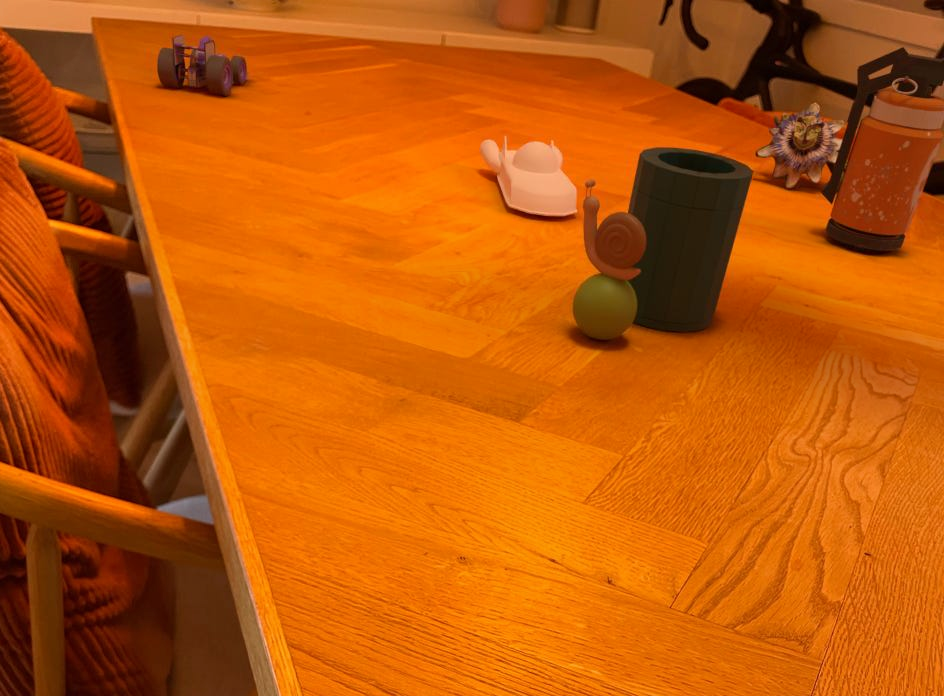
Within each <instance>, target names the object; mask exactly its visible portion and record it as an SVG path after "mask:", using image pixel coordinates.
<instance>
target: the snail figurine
mask: <svg viewBox="0 0 944 696" xmlns="http://www.w3.org/2000/svg"><path fill="white" fill-rule="evenodd" d="M596 185H597V184H596V180H595V179H590V180H586V182H585V183H584V186H585V188H586V191H585V198H584V199H583V203H582V210H583V222H582V223H583V225H582V228H583V230H582V231H583V244H584V250H585V254H586V257H587V259H588V260H589V262H590V263H591V265H592V266H593V267H594V268H595V269H596V270H597V271H598V272H599V273H595V274H593V275H591V276H589V277H588V278H586V279H585V280H584V281H583V282H582V283H581V284H580V285H579V287H578V288H577V290H576V291H575V294H574V297H573V301H572V314H573V319H574V322H575V323H576V325H577V327H578V329H579V330H581V332H582V333H583V334H585V335H586V336H588V337H589V338H592V339H594V340H598V341H609V340H613V339H615V338H618V337H621V335H623V334H624V333H625V332H627V330H628V329H630V327H631V326H632V324H633V321H634V319H635V316H636V312H637V297H636V294H635V291H634V289H633V287H632V286H631V284H630V283H629V282H628V281H627V280H630V279H632V278H634V277H636V276H637V275H638V274H640V272H641V270H640V269H638V268H632V267H631V266H633V265H634V264H636V263H637V262H638V261H639V260H640V259H641V258H642V256H643V254H644V252H645V248H646V233H645V230H644V227H643V225H642V224H641V222H640V221H639V220H638V219H637V218H636V217H635V216H633V215H631V214H629V213H628V212H626V211H617V212H614V213H611V214H609V215H608V216H606V217H605V218H604V219H603V220H602V221H601V223H600V224H599V226H598V213H599V210H600V206H601V204H600V200H599V198H598V197H596V196H595V195H592V189H593V188H594V187H595V186H596ZM589 188H590V189H589ZM588 189H589V195H588ZM587 195H588V196H587Z"/></svg>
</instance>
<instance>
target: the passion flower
mask: <svg viewBox="0 0 944 696" xmlns="http://www.w3.org/2000/svg"><path fill="white" fill-rule="evenodd" d="M820 109H821V107H820V106H819V104H818V103H817V102H813V103H812V104H810V105H809V107H808V108H807V109H803V110H802V111H800V110H798V112H797V113H796V114H795V112H792V113H791V114H790V115H789V114H788V113H785V112H784V113H781V117H780V119H778V116H777V115H776V114H775V115H774V117H773V122H774V125H775V127H774V128H773V127H772V128H769V129H768V132H769V134H770V135H771V136H772V138H771V141H770V142H769V143H768V144H765V145H764V146H762V147H759V148H758V149H757V150H756V151H755V153H754V155H755V156H756V158H761V159H765V158H766V159H767V158H770V157H771V158H773V160H774V167H773V170H772V179H773V180H778V179H784V181H785V183H784V185H785V189H787V190H791V189H793V188H794V187H795V186H796V184H797V183H798V182H799V180H800V178H801V177H802V176H803V175H805V176H807V177H808V179H809V180H810V182H812V183H813V184H816V185H817V184H818V183H819V182H820V180H821V178H822V176H823V175H822V174H823V169H824V168H825V166H827V168H828V170H829V173H830V175H831V174H832V171H833V168H834V165H835V162H836V159H837V156H838V152H839V149H840V146H841V143H842V140H843V138H839V137H836V135H837V134H838V132H839V131H840V130H841V129H842V128H843V127H844V124H845V122H844V120H843V119H838V120H831V121H828V122H827V120H825V117H823V118H821V119H820V115H821V114H822V112H821V111H820ZM823 120H825V121H823ZM847 162H848V160H847V161H846V164H845V167H844V170H843V173H842V176H841V179H840V182H839V185H838V188H837V191H836V192H838V190H839V187H840V184H841V181H842V178H843V175H844V172H845V168H846V165H847Z"/></svg>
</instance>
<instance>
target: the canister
mask: <svg viewBox="0 0 944 696" xmlns="http://www.w3.org/2000/svg"><path fill="white" fill-rule="evenodd" d="M890 66H892V67H891V69H890V72H889V73H886V74H883V75H879V76H876V77H873V78H870V76H871V75H873V74H875V73H877V72H879V71H881V70H884V69H886V68H888V67H890ZM857 67H858V68H856V72H857V73H856V76H857V77H856V79H857V81H856V83H857V94H856V96H855V99H854V100H853V102H852V105H851V108H850V111H849V115H848V117H847V120H846V123H847V125H846V127H845V131H844V134H843V137H842V139H843V140H842V143H841V146H840V149H839V152H838V156H837V159H836V162H835V165H834V168H833V171H832V174H831V173H830V178H829V180H828V181H827V182H826V183H825V184H824V185H823V186H822V187H821V190H820V193H821V194H822V196H823V197H824V198H825V199H826V200H827V201H828V203H829V204H830V205H832V208H831V212H830V214H829V216H830V218H829V219H828V220H827V224H826V227H825V233H826V234H827V235H828V236H830V237H831V238H833V239H834V241H835V242H837V243H838V244H840V245H842V246H844V247H847V248H849V249H853V250H856V251H861V252H866V253H877V254H879V253H887V252H888V251H895V250H900V249H901V248H902V247H903V244H904V242H905V239H906V233H908V230H909V228H910V226H911V222H912V220H913V218H914V215H915V212H916V209H917V207H918V204H919V203H920V202H919V201H920V199H921V196H922V193H923V191H924V188H925V186H926V184H927V180H928V177H929V175H930V172H931V169H932V167H933V164H934V161H935V159H936V156H937V154H938V151H939V148H940V146H941V144H942V141H943V138H944V134H943V132H942V130H941V129H942V126H943V123H944V98H942V97H940V96H938V95H936V94H933V93H932V90H933V88H932V87H933V86H937V87H938V86H939V87H943V85H944V57H941V58H937V57H932V56H931V57H930V56H924V55H919V54H912V53H909V52H908V51H907V50H906V48H905V47H904V46H902V47H899V48H897V49H895V50H893V51H891V52H888V53H886V54H884V55H881V56H879V57H877V58H875V59H873V60H870V61H868V62H866V63H864V64H863V63H862V64H861V65H859V66H857ZM896 85H897V87H895V86H896ZM876 92H877V94H876V95H875V96H874V97H873V100H872V103H871V106H870V107H869V108H870V109H869V111H868V115H866V116H864V118H862V119H861V117H862V114H863V112H864V109H865V105H866V103H867V99H868V96H869V95H871V94H873V93H876ZM846 161H847V165H846V167H845V164H846ZM844 167H845V172H844V175H843V178H842V181H841V184H840V187H839V190H838V191H837V188H838V185H839V182H840V179H841V176H842V173H843V170H844Z"/></svg>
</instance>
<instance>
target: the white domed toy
mask: <svg viewBox="0 0 944 696" xmlns="http://www.w3.org/2000/svg"><path fill="white" fill-rule="evenodd" d="M507 141H508V139H507V136H506V135H504V138H503V144H502V149H501V150H500V148H499V146H498V145H497V143H496V141H494V140H493V139H485V140H483V141H482V142H481V143H480V147H479V154H480V156H481V158H482V159H483V161H484V162H485V164H486V165H487V167H488V168H490V169H491V170H492V171H493V172H495V173H496V174H495V175H496V177H497V181H498V184H499V187H500V190H501V193H502V195H503V198H504V201H505V204H506V205H507V207H508V208H511V209H514V210H517V211H520V212H524V213H526V214H531V215H539V216H545V217H567V216H570V215H573V214H578V209H577V190H578V189H577V187H576V186H575V184H574V183H573V182H572V181H571V180H570V178H569V177H568V176H567V175H566V174H565V172H564V171H562V167H563V158H564V157H563V154H562V152H561V150H560V149H559V148H558V147H557V146H555V145H554V140H550V145H548V144H547V143H545V142H543V141H535V140H534V141H530V142H529V141H528V142H527V143H525V144H523V145H521V146H520V147H519V148H518V149H517V150H514V149H508V145H507V144H508V143H507Z"/></svg>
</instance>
